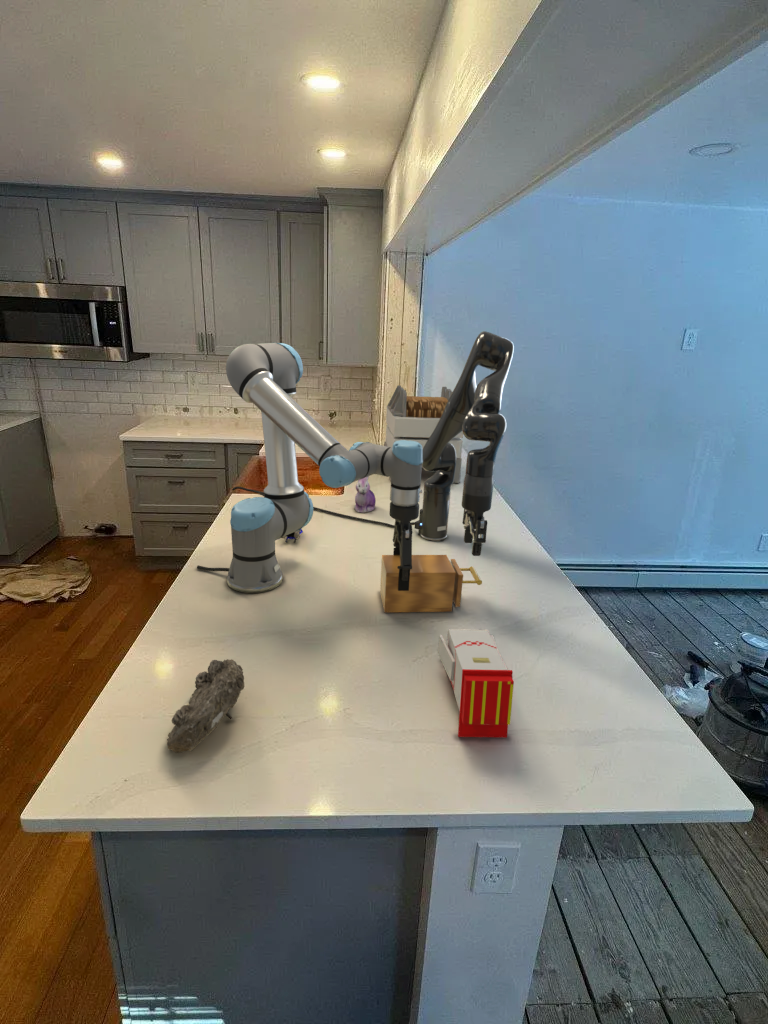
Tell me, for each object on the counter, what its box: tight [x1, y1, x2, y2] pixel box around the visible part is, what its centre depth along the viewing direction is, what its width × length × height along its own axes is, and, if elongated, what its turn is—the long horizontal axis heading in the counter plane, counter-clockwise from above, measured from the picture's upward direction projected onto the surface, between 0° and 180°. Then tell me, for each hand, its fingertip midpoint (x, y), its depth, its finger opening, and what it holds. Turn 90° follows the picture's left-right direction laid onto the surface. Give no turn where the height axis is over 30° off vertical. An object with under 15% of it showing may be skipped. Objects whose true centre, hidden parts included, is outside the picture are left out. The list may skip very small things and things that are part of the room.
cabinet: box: [379, 554, 455, 613], centre depth 152 cm, size 18×11×12 cm, turn 96°
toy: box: [437, 628, 515, 738], centre depth 117 cm, size 12×13×30 cm
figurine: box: [354, 476, 376, 513], centre depth 220 cm, size 9×10×15 cm
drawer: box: [449, 558, 483, 608], centre depth 153 cm, size 22×10×9 cm, turn 96°
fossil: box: [166, 658, 245, 754], centre depth 106 cm, size 22×10×15 cm
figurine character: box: [281, 528, 304, 544], centre depth 192 cm, size 7×8×15 cm
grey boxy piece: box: [383, 384, 464, 484], centre depth 268 cm, size 34×33×41 cm
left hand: (400, 579), depth 151 cm, fingers closed on cabinet, 11 cm apart
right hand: (471, 548), depth 150 cm, fingers open, 8 cm apart
